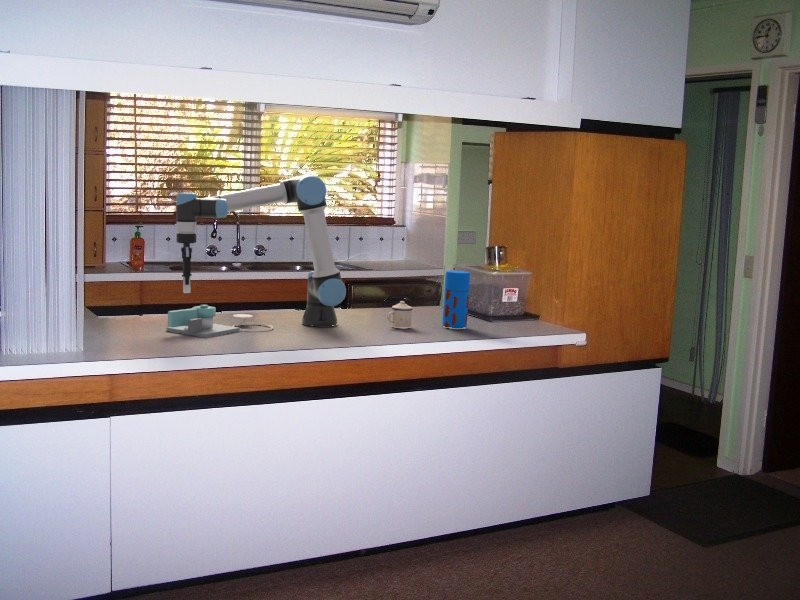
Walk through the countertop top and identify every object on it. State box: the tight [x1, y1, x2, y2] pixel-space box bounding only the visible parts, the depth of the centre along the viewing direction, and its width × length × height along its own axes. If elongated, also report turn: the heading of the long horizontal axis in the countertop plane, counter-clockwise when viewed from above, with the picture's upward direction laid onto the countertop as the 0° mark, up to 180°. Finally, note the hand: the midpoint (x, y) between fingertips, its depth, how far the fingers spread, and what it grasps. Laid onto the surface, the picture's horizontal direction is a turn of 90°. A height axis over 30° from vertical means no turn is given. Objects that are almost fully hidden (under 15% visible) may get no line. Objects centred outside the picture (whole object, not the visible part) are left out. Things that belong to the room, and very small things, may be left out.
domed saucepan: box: [167, 304, 217, 327], centre depth 334 cm, size 22×9×7 cm, turn 145°
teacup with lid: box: [386, 300, 413, 327], centre depth 373 cm, size 12×9×12 cm
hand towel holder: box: [231, 313, 274, 333], centre depth 353 cm, size 17×4×21 cm
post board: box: [166, 317, 241, 339], centre depth 338 cm, size 20×23×6 cm
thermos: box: [442, 270, 471, 328], centre depth 380 cm, size 11×11×25 cm
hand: (186, 292), depth 337 cm, fingers closed
